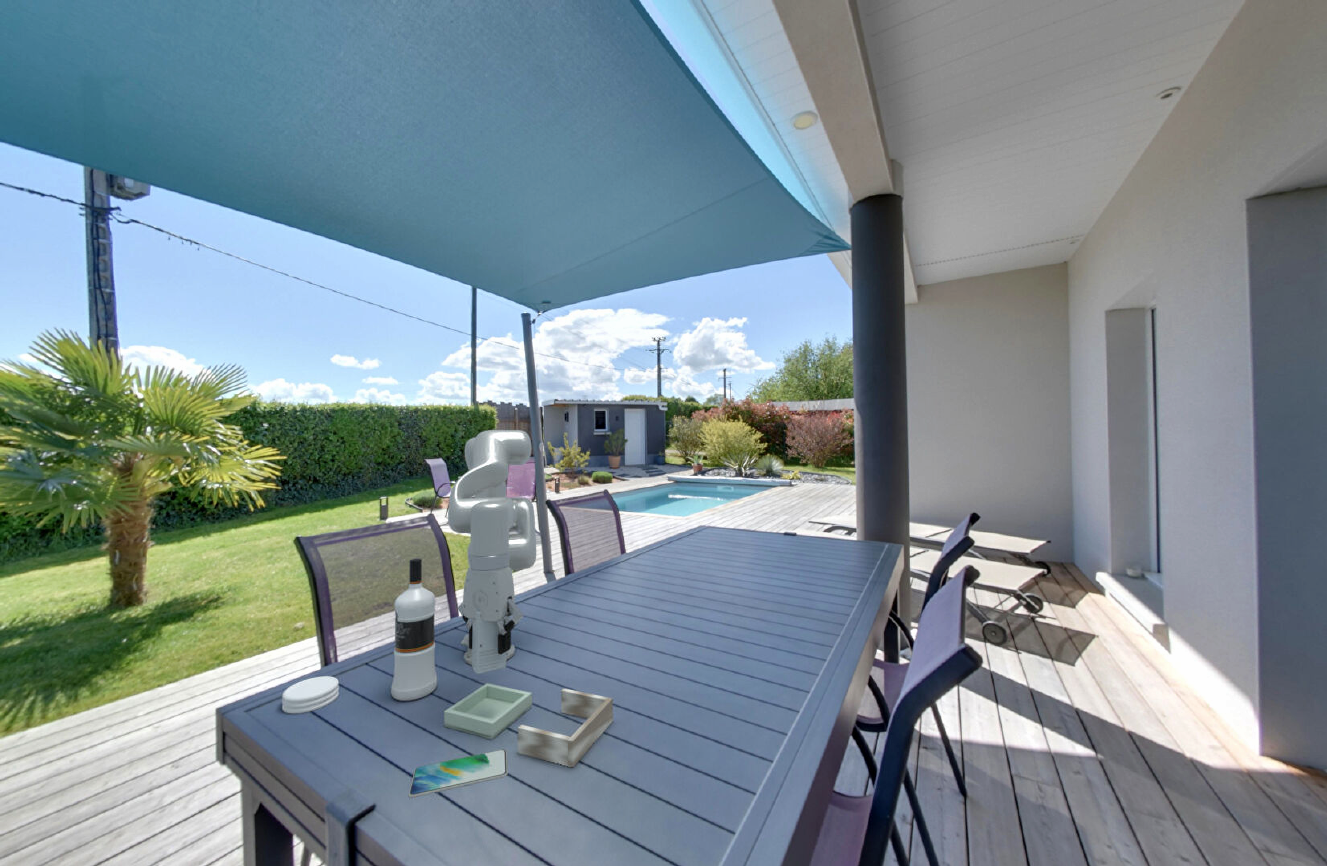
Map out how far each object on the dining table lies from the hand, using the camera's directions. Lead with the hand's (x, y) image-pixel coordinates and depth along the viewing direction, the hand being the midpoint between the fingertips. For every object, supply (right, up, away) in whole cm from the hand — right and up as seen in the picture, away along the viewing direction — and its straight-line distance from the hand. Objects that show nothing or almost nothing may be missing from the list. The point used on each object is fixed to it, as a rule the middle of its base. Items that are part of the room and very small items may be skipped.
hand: (489, 648), depth 99 cm
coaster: (-41, -15, +6) cm, 44 cm away
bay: (+17, -14, -7) cm, 23 cm away
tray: (0, -14, 0) cm, 14 cm away
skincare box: (0, -4, 0) cm, 4 cm away
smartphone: (+1, -14, -17) cm, 22 cm away
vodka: (-21, -15, +10) cm, 27 cm away
